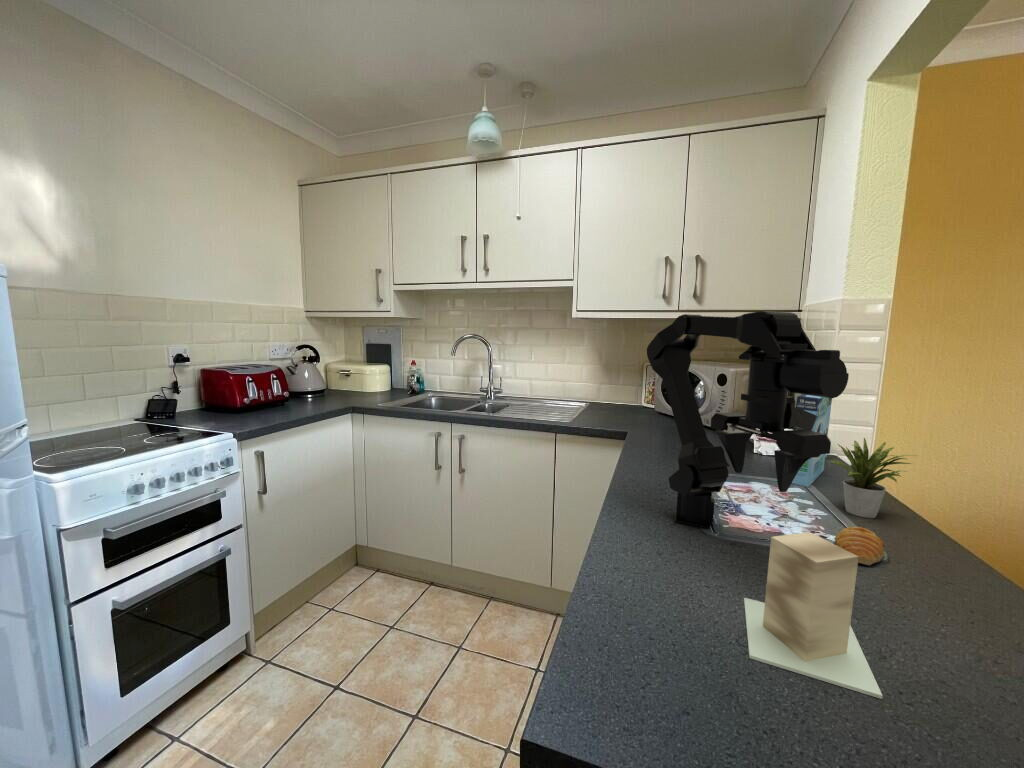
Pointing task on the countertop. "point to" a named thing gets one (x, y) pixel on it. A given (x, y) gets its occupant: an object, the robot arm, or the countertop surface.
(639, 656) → the countertop surface
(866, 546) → the pastry
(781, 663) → the sage mat
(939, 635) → the countertop surface
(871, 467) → the house plant
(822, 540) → the birch block
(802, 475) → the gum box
